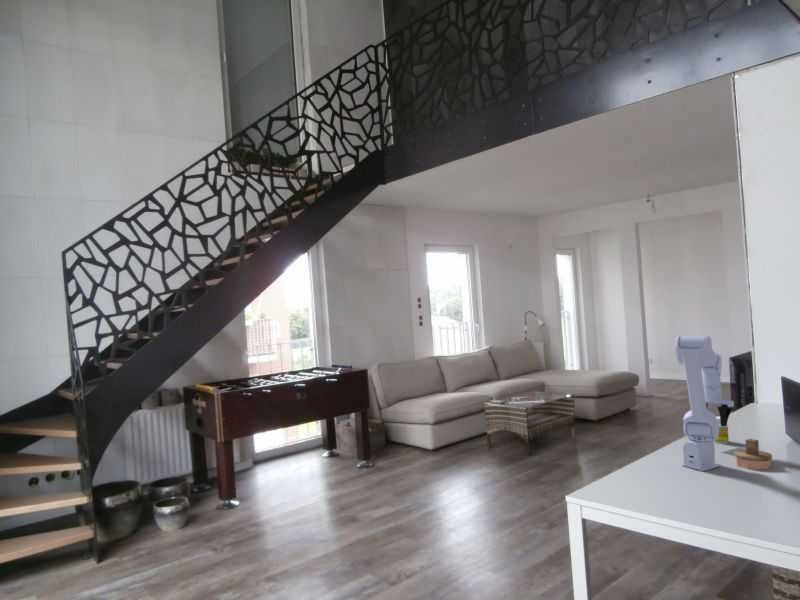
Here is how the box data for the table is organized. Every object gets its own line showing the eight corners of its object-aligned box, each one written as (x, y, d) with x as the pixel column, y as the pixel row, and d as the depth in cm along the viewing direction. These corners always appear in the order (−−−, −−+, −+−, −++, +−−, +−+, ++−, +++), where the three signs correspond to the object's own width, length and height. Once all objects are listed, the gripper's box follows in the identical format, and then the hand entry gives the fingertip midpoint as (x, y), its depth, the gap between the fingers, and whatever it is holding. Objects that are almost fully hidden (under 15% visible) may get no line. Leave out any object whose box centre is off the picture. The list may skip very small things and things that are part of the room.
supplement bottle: (722, 440, 216) (720, 415, 216) (732, 443, 210) (730, 418, 210) (709, 441, 215) (708, 416, 215) (719, 445, 210) (717, 419, 210)
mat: (751, 460, 190) (751, 459, 190) (720, 453, 199) (720, 452, 199) (771, 454, 194) (771, 454, 194) (740, 448, 204) (740, 447, 204)
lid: (759, 463, 177) (758, 446, 177) (726, 455, 187) (726, 439, 187) (779, 457, 182) (778, 440, 182) (746, 450, 191) (745, 434, 191)
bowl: (758, 472, 178) (757, 462, 178) (728, 464, 186) (728, 455, 186) (776, 466, 182) (775, 457, 182) (746, 459, 190) (746, 451, 190)
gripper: (738, 387, 197) (740, 425, 197) (700, 382, 210) (702, 419, 210) (725, 389, 194) (727, 428, 194) (688, 385, 207) (689, 421, 207)
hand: (713, 424), depth 202 cm, fingers open, 7 cm apart
